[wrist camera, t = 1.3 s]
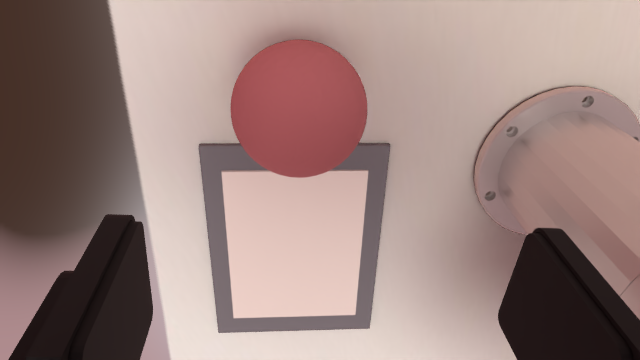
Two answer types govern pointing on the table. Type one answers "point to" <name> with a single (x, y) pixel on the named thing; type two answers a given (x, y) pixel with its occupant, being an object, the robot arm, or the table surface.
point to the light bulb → (298, 108)
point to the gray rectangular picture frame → (293, 240)
